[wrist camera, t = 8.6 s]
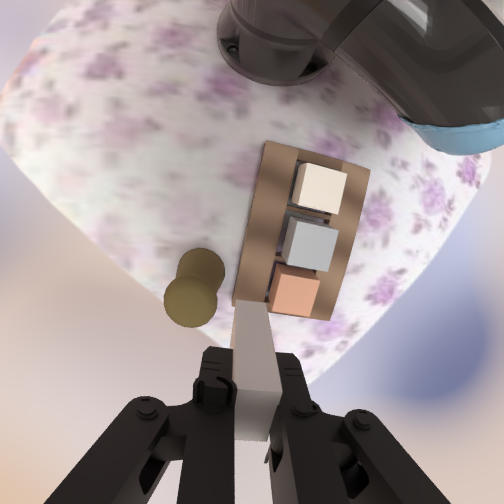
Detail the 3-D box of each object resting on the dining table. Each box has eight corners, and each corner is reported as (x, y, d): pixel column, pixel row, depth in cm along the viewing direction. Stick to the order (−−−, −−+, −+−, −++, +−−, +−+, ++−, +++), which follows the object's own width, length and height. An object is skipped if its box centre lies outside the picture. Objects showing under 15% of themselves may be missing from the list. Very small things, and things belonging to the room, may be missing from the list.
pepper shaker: (230, 254, 35) (227, 286, 25) (219, 298, 37) (213, 343, 26) (182, 242, 35) (160, 269, 24) (173, 287, 36) (152, 328, 26)
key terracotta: (276, 263, 35) (281, 273, 31) (311, 269, 35) (320, 280, 31) (268, 297, 36) (271, 311, 32) (302, 302, 36) (309, 316, 32)
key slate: (290, 215, 32) (297, 221, 28) (327, 224, 32) (339, 230, 28) (281, 254, 33) (286, 264, 29) (317, 261, 33) (327, 272, 29)
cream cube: (299, 164, 32) (307, 162, 28) (334, 174, 32) (347, 173, 28) (290, 201, 33) (298, 204, 29) (326, 210, 33) (337, 214, 29)
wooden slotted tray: (265, 142, 32) (266, 140, 30) (363, 170, 34) (370, 169, 32) (231, 299, 37) (231, 306, 35) (325, 314, 38) (329, 320, 36)
